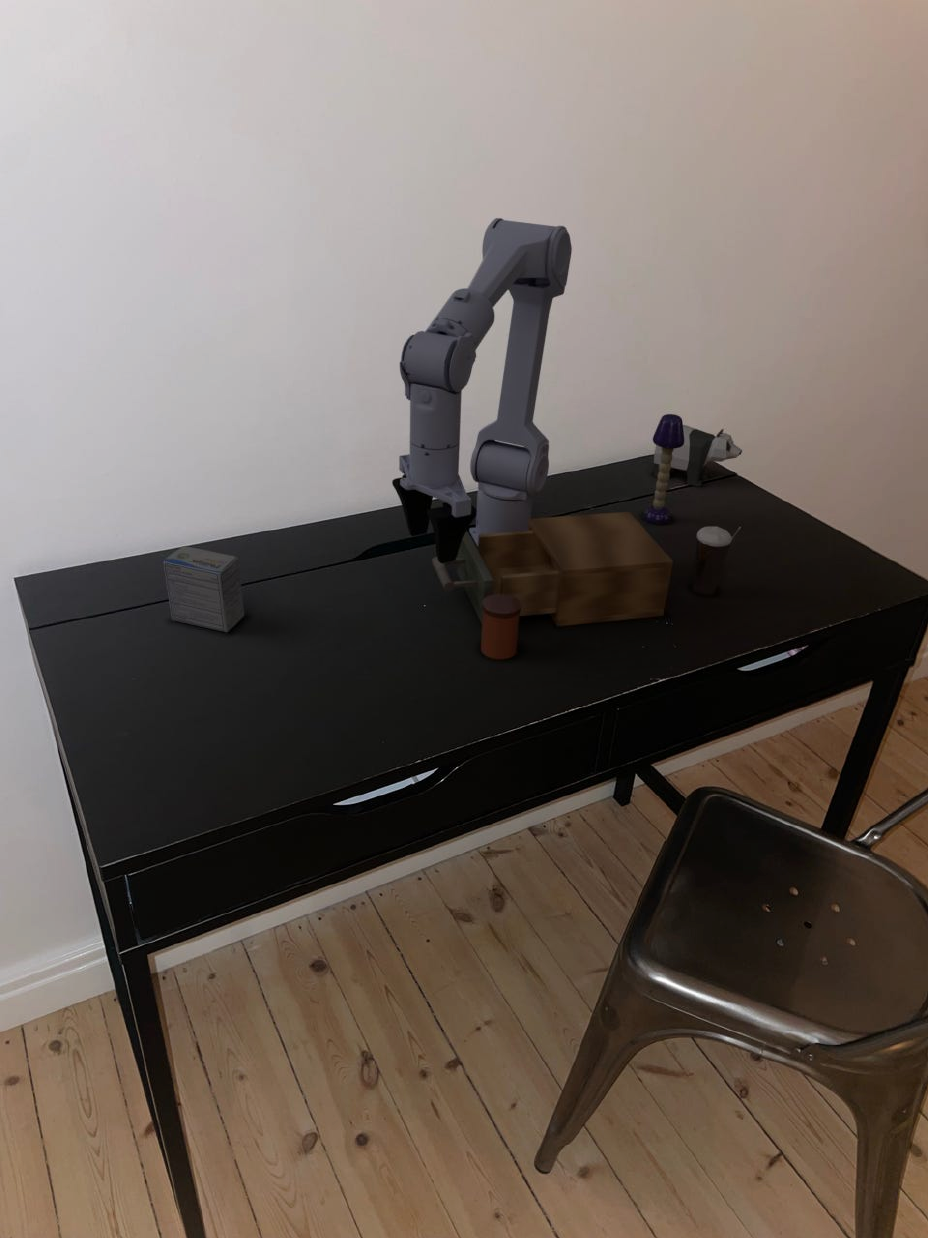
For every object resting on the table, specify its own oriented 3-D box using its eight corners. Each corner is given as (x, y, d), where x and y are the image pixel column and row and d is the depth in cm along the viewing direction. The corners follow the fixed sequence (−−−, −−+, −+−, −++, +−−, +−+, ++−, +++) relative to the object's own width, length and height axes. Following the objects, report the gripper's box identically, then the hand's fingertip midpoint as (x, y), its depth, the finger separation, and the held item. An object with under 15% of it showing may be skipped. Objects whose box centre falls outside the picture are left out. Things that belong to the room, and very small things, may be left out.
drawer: (448, 628, 118) (449, 584, 115) (426, 576, 129) (427, 534, 126) (584, 615, 122) (589, 572, 119) (551, 565, 133) (555, 524, 130)
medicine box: (245, 617, 120) (239, 556, 116) (226, 634, 117) (220, 572, 112) (190, 604, 122) (183, 544, 118) (170, 621, 119) (161, 559, 114)
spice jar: (485, 661, 114) (488, 615, 110) (475, 641, 118) (478, 595, 114) (522, 658, 115) (526, 611, 111) (511, 637, 119) (515, 592, 115)
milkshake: (727, 600, 128) (741, 534, 123) (686, 595, 129) (699, 528, 124) (726, 584, 132) (740, 519, 127) (686, 579, 133) (699, 514, 128)
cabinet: (556, 626, 121) (562, 570, 117) (523, 571, 133) (528, 518, 129) (663, 616, 124) (673, 561, 120) (621, 562, 136) (629, 511, 132)
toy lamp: (673, 526, 147) (691, 422, 138) (643, 525, 147) (659, 421, 138) (668, 513, 151) (685, 411, 142) (638, 511, 151) (653, 410, 142)
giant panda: (645, 475, 164) (653, 421, 159) (656, 464, 168) (664, 412, 163) (729, 495, 158) (740, 440, 153) (738, 483, 162) (749, 430, 157)
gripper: (376, 424, 112) (377, 528, 119) (432, 469, 102) (430, 580, 109) (429, 416, 115) (427, 518, 123) (490, 458, 105) (483, 567, 112)
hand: (432, 546), depth 116 cm, fingers open, 7 cm apart
